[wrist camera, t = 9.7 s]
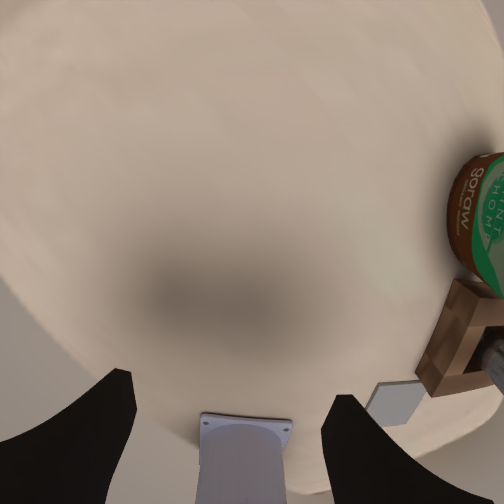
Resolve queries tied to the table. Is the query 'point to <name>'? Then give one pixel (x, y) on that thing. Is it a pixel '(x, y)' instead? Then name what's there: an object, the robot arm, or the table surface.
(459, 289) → the hole block
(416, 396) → the mat
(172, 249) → the table surface
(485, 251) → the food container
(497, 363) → the peg
